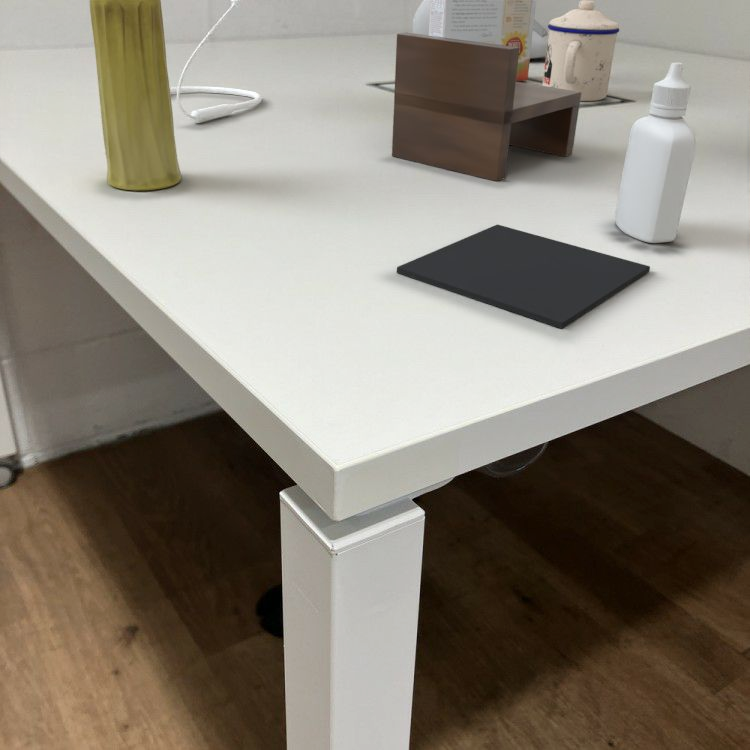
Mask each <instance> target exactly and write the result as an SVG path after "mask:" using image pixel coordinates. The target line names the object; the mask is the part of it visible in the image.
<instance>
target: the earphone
mask: <svg viewBox="0 0 750 750" xmlns="http://www.w3.org/2000/svg"><path fill="white" fill-rule="evenodd" d="M229 1H230V7H228V9H227V10H226V12H224V14H223V15H222V16H221V17H220V18H219V20H218V21H217V22H216V23H215V25H213V27H212V28H210V30H209V31H208V33H207V34H206V35H205V36H204V38H203V39H202V40H201V42H200V43H199V44H198V45H197V47H196V48H195V50H194V51H193V52H192V54H191V55H190V57H189V58H188V60H187V62H186V64H185V66H184V68H183V70H182V72H181V75H180V77H179V80H178V83H177V86H172V87H171V86H169V87H170V95H172V94H176V102H177V107H178V108H179V110H180V112H181V113H182V114H183V115H184V116H186V117H187V118H189V119H191V121H192V122H193V123H194V124H199V123H203V122H208V121H211V120H215V119H220V118H224V117H228V116H230V115H231V114H232V113H234V112H236V111H240V110H245V109H249V108H252V107H254V106H257V105H258V104H260V103H261V102H262V100H263V99H262V95H261V94H260V93H258V92H255V91H251V90H247V89H240V88H231V87H223V86H221V87H220V86H219V87H218V86H204V85H203V86H202V85H201V86H200V85H197V86H196V85H188V86H187V85H186V86H183V85H182V84H183V81H184V78H185V75H186V73H187V71H188V69H189V67H190V65H191V63H192V61H193V60H194V59H195V57H196V55H197V54H198V53H199V51H200V50H201V48H202V47H203V46H204V45H205V43H206V42H207V41H208V40H209V38H210V37H211V36H212V35H213V33H214V32H215V31H216V30H217V28H218V27H219V26H220V25H221V24H222V23H223V21H224V20H225V19H226V18H227V17H228V15H229V14H230V13H231V12H232V11H233V10H234V8H238V7H239V6H240V5H241V4H242V3H243V2H244V0H229ZM182 93H209V94H223V95H224V94H225V95H235V96H243V97H248V98H252V99H250V100H247V101H243V102H237V103H234V104H230V103H222V104H218V105H212V106H209V107H204V108H199V109H194V110H192V111H191V112H190V113H188V112H187V111H186V110H185V109H184V108H183V106H182V103H181V94H182Z"/></svg>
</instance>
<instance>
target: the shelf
mask: <svg viewBox="0 0 750 750" xmlns="http://www.w3.org/2000/svg"><path fill="white" fill-rule="evenodd" d="M519 49H520V48H519V47H512V46H504V45H497V44H489V43H482V42H474V41H466V40H459V39H451V38H444V37H436V36H429V35H421V34H414V33H413V32H398V33H396V48H395V70H394V71H395V72H394V73H395V74H394V94H393V95H394V96H393V116H392V117H393V121H392V143H391V144H392V145H391V157H394V158H399V159H403V160H407V161H411V162H416V163H420V164H423V165H427V166H432V167H436V168H440V169H444V170H448V171H453V172H457V173H461V174H465V175H470V176H473V177H477V178H481V179H486V180H490V181H494V182H499V181H501V180H504V179H506V174H507V164H508V155H509V146H513V147H519V148H523V149H528V150H533V151H537V152H542V153H547V154H552V155H557V156H561V157H568V156H571V155H573V152H574V145H575V137H576V131H577V124H578V117H579V110H580V105H581V101H580V99H581V92H578V91H572V90H565V89H559V88H553V87H547V86H542V85H539V84H534V83H527V82H523V81H516V76H517V67H518V58H519Z"/></svg>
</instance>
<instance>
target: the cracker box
mask: <svg viewBox="0 0 750 750" xmlns="http://www.w3.org/2000/svg"><path fill="white" fill-rule="evenodd" d="M536 4H537V0H430V14H429V36H436V37H444V38H451V39H459V40H466V41H474V42H482V43H489V44H497V45H504V46H512V47H519V48H520V49H519V58H518V67H517V76H516V82H524V81H528V79H529V71H530V61H531V58H530V53H531V44H532V35H533V25H534V19H535V16H536V15H535V14H536V6H537V5H536Z"/></svg>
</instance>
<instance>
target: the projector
mask: <svg viewBox="0 0 750 750" xmlns="http://www.w3.org/2000/svg"><path fill="white" fill-rule="evenodd" d="M429 14H430V0H422V1H421V3H420V4H419V6H418V7H417V9H416V11H415V13H414V15H413V19H412V33H414V34H421V35H429ZM548 37H549V31H548V30H547V29H546V28H545V27H543V26H542V24H540V23H539V22H538V21H537V20H536V19H535V18H534V25H533V35H532V44H531V53H530V59H539V58H543V57H546V52H547V45H548Z"/></svg>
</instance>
